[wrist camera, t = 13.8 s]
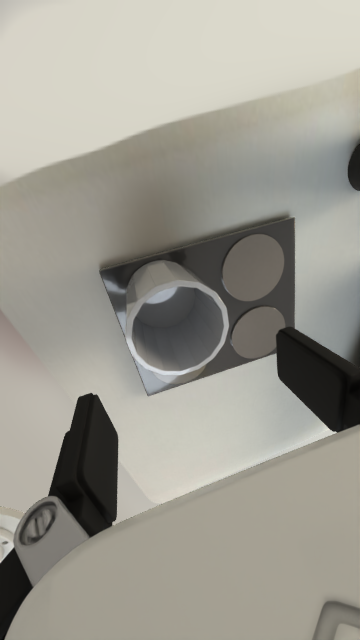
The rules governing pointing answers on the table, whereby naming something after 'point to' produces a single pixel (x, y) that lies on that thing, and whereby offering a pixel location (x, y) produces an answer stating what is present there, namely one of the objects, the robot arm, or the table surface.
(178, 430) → the table surface
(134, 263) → the hob
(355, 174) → the drinking cup
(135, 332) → the pot
